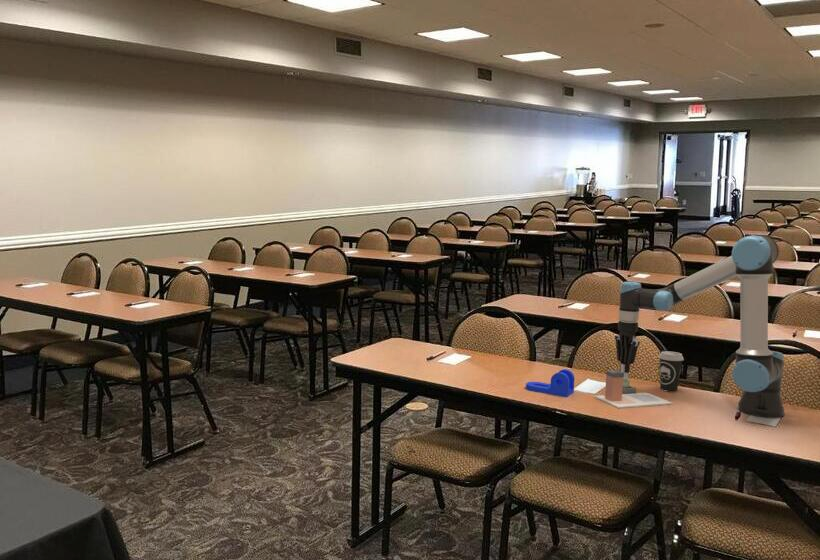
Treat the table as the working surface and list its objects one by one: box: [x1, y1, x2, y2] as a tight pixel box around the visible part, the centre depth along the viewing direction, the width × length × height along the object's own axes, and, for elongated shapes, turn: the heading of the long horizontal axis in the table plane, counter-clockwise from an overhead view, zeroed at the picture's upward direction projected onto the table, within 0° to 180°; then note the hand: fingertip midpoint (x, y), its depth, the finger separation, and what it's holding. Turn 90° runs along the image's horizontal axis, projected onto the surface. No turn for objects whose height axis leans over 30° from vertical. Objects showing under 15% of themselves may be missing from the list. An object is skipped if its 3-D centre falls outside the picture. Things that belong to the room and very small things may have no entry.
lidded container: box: [604, 369, 624, 401], centre depth 261 cm, size 5×5×11 cm
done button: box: [623, 379, 630, 388], centre depth 274 cm, size 4×4×4 cm
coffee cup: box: [658, 350, 685, 392], centre depth 281 cm, size 10×10×15 cm
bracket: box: [525, 368, 575, 398], centre depth 272 cm, size 18×8×9 cm, turn 60°
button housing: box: [622, 384, 637, 394], centre depth 275 cm, size 7×7×2 cm
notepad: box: [594, 392, 674, 410], centre depth 263 cm, size 15×24×1 cm, turn 109°
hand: (624, 379), depth 274 cm, fingers closed
